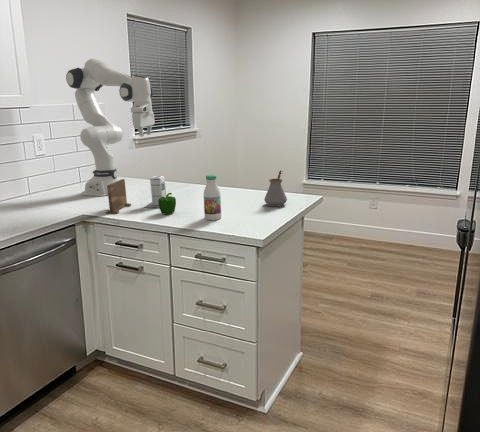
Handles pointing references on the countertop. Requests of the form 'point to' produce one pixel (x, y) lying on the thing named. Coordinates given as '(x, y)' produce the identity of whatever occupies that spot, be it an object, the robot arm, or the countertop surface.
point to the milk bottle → (212, 199)
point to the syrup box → (157, 188)
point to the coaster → (151, 206)
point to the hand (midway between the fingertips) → (145, 135)
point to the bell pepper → (167, 204)
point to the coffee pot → (275, 193)
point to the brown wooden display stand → (117, 197)
